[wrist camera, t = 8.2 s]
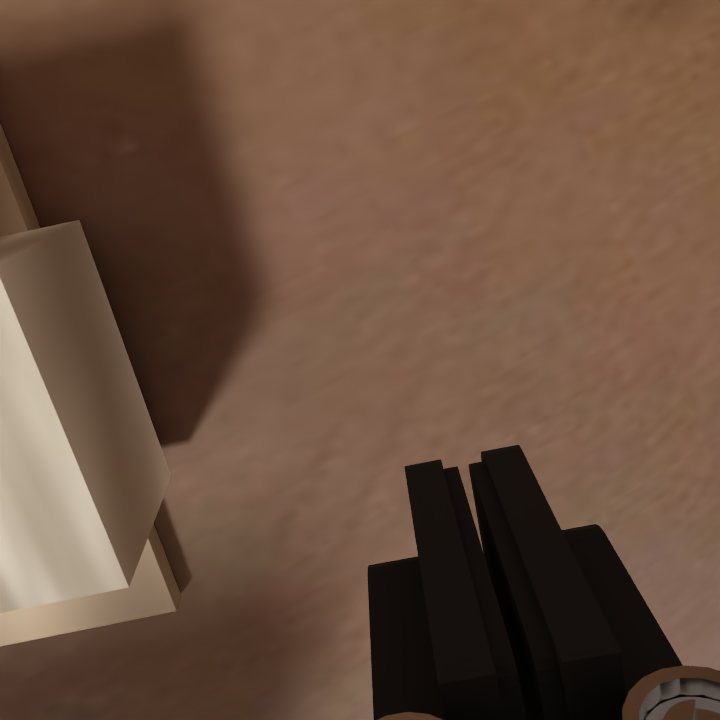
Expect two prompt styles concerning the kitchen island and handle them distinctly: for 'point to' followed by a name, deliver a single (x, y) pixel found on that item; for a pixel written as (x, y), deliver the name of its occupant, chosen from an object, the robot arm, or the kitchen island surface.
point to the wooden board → (153, 573)
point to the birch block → (68, 428)
